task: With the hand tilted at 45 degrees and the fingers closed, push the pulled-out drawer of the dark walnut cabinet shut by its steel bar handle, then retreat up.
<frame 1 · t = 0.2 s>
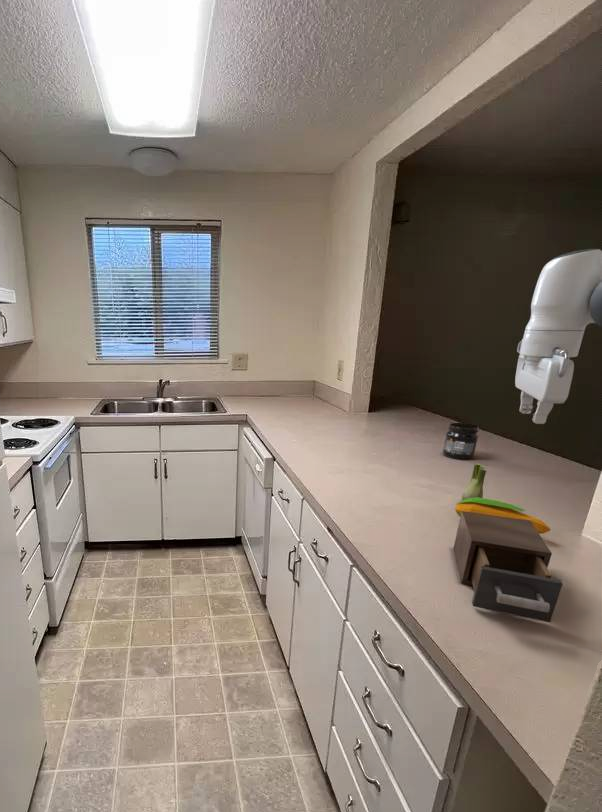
hand: (531, 417, 87), 32 cm above the countertop, tool pointing down, fingers open, 8 cm apart
fennel bulb: (470, 505, 124), on the countertop
drawer: (509, 581, 80), point 5 cm above the countertop, slide at 8.0 cm
corn: (497, 530, 110), on the countertop
cabinet: (491, 571, 92), on the countertop
supplement container: (457, 456, 167), on the countertop
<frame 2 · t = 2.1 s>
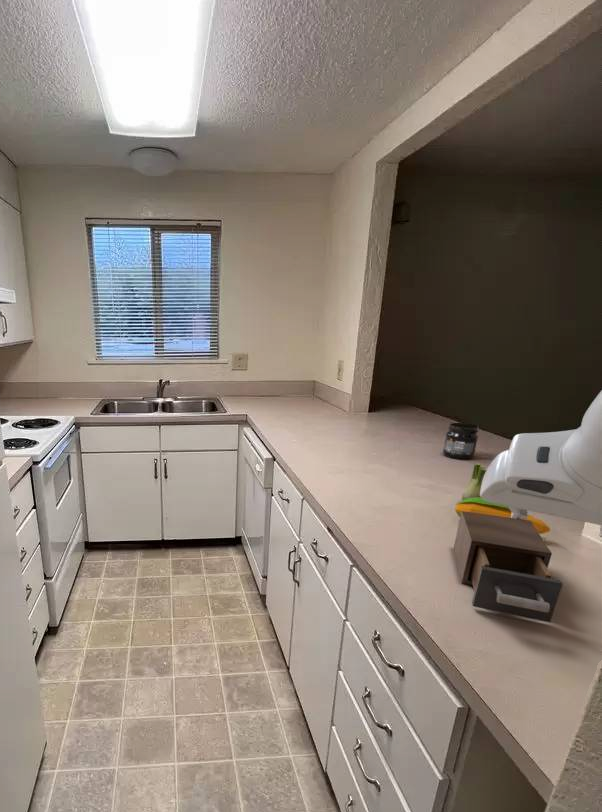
hand: (560, 523, 57), 25 cm above the countertop, tool tilted 40°, fingers open, 8 cm apart
nothing on the countertop moved.
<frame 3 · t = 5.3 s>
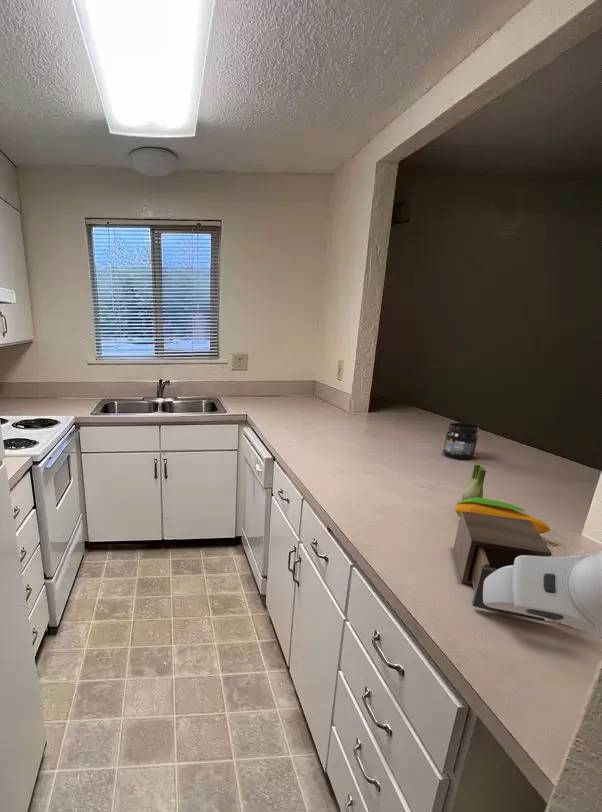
hand: (557, 617, 59), 12 cm above the countertop, tool tilted 45°, fingers closed
nothing on the countertop moved.
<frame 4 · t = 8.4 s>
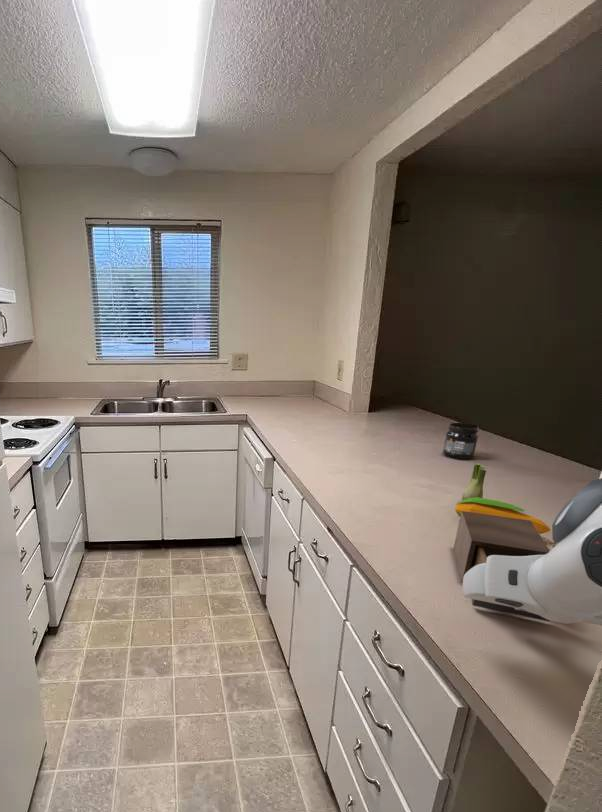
hand: (524, 606, 71), 6 cm above the countertop, tool tilted 45°, fingers closed, pressing on drawer
drawer: (509, 580, 80), point 5 cm above the countertop, slide at 7.7 cm, touching gripper
everything else where it was.
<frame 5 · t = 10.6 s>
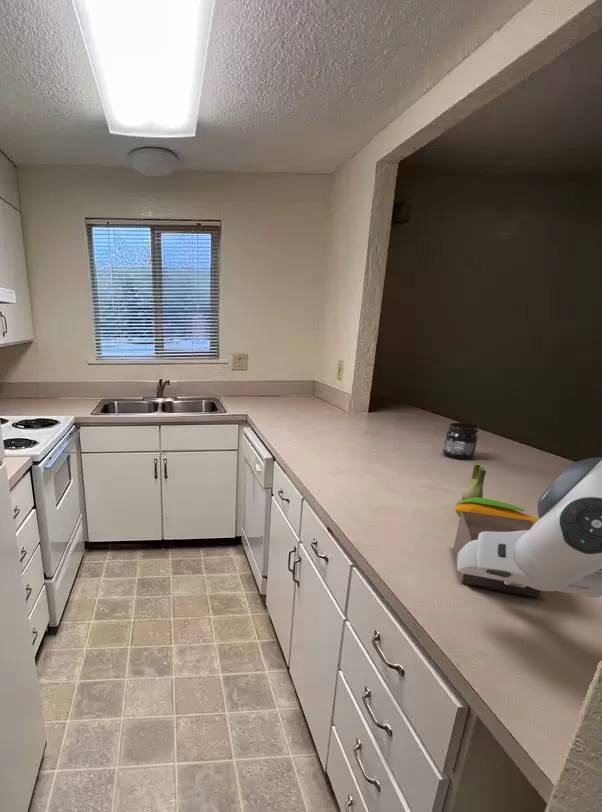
hand: (513, 581, 78), 6 cm above the countertop, tool tilted 45°, fingers closed, pressing on drawer
drawer: (500, 560, 86), point 5 cm above the countertop, slide at 0.0 cm, touching cabinet, gripper
everything else where it was.
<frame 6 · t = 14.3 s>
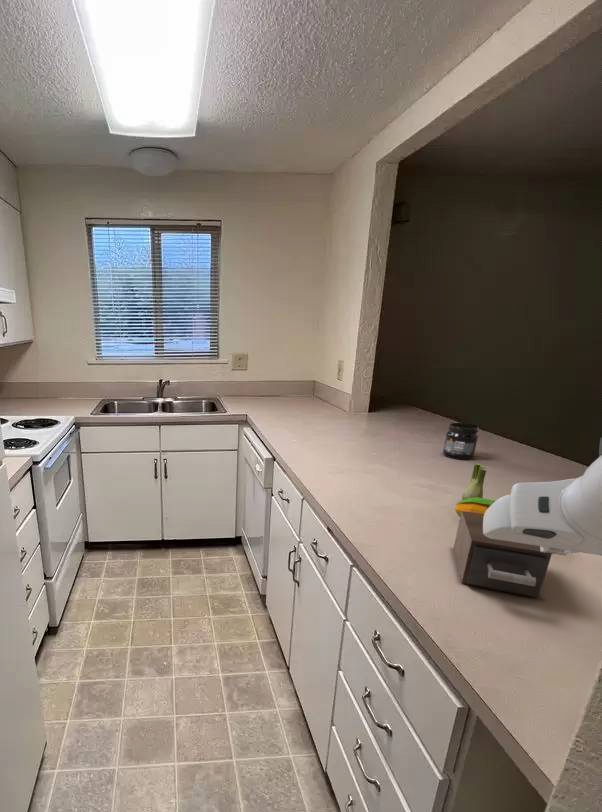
hand: (551, 548, 64), 19 cm above the countertop, tool tilted 45°, fingers closed
drawer: (500, 560, 86), point 5 cm above the countertop, slide at 0.0 cm, touching cabinet
everything else where it was.
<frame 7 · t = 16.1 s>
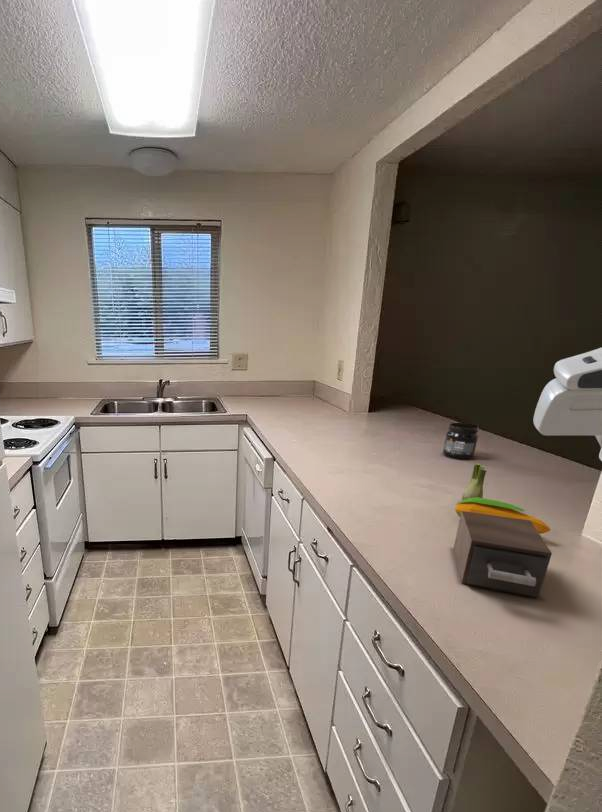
nothing on the countertop moved.
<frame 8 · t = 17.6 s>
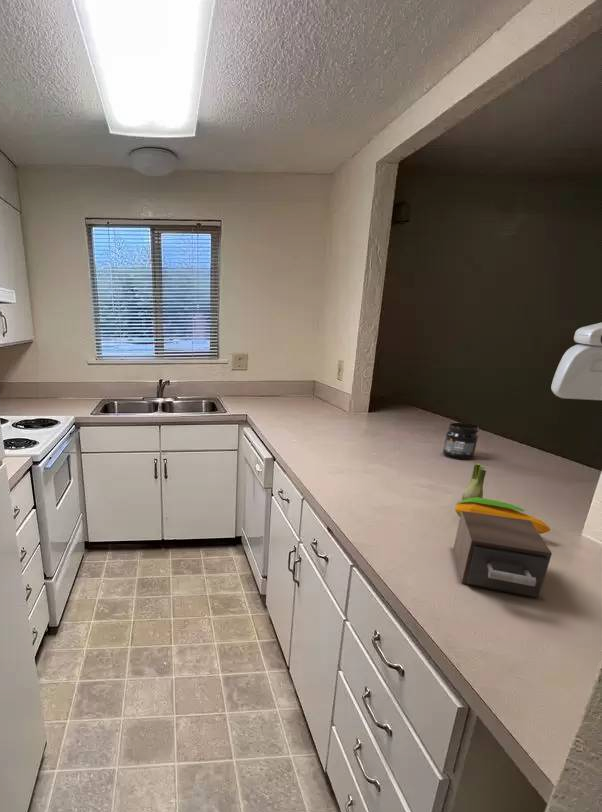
nothing on the countertop moved.
at the end: drawer slide at 0.0 cm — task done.
